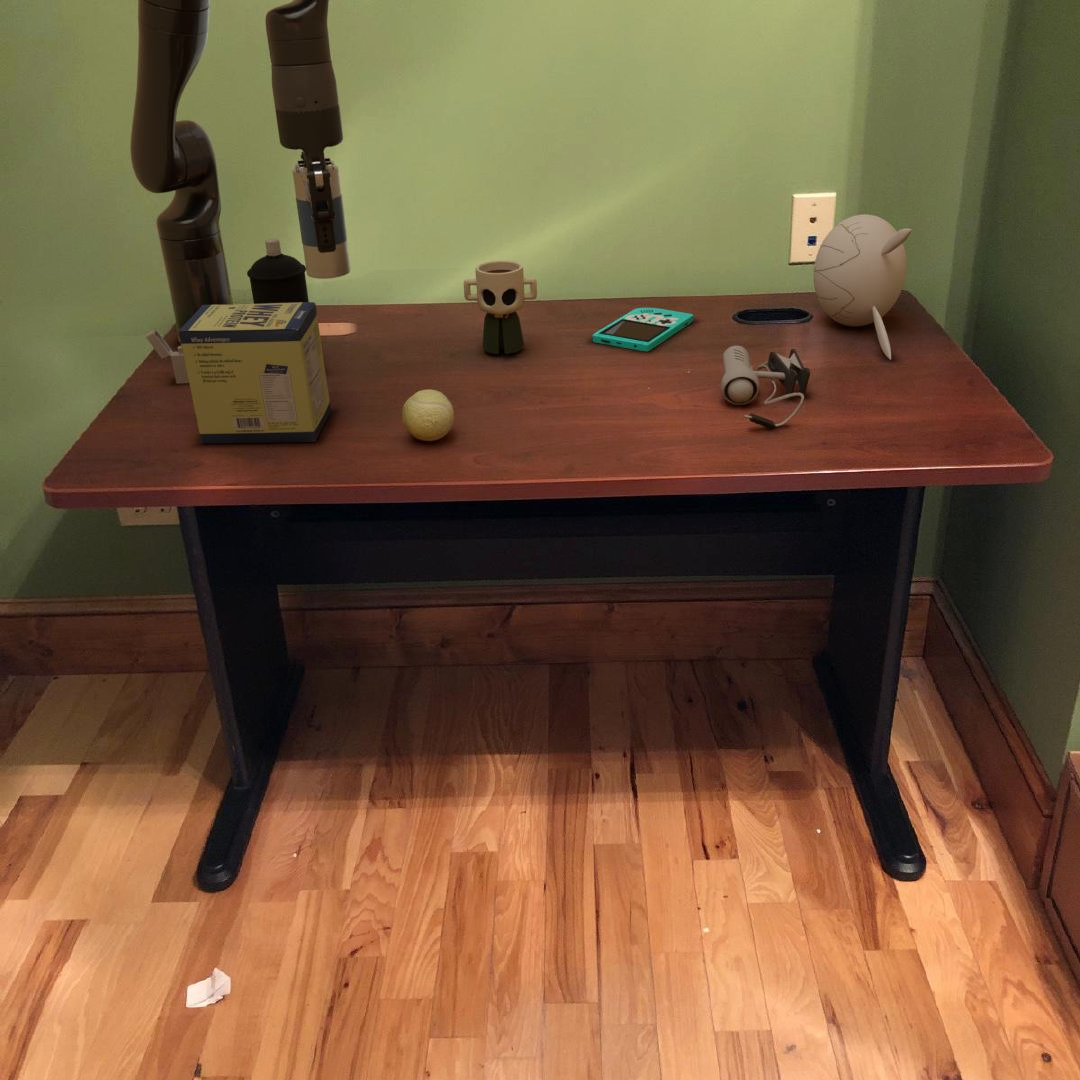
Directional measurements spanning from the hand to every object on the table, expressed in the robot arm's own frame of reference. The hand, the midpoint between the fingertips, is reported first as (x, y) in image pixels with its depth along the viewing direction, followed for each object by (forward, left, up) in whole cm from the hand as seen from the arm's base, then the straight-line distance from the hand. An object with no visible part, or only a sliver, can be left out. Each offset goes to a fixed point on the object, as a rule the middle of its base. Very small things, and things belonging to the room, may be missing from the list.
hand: (325, 244), depth 143 cm
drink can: (0, 0, -4) cm, 4 cm away
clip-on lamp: (+14, +55, -24) cm, 61 cm away
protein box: (0, -11, -24) cm, 26 cm away
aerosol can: (-18, -6, -24) cm, 30 cm away
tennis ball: (+11, +10, -24) cm, 28 cm away
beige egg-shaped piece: (-8, +80, -24) cm, 84 cm away
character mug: (-18, +26, -24) cm, 39 cm away
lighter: (-21, -22, -24) cm, 39 cm away
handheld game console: (-19, +49, -24) cm, 57 cm away
